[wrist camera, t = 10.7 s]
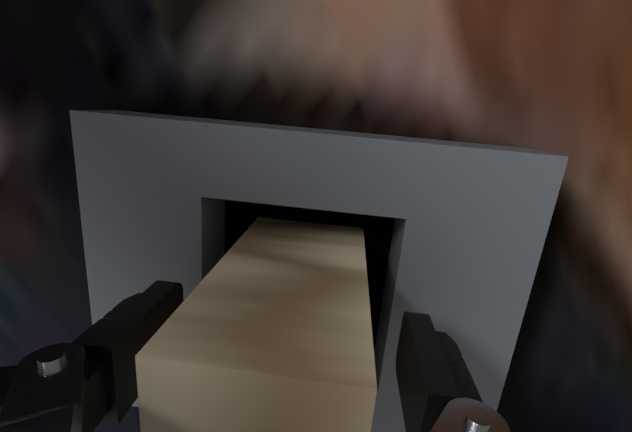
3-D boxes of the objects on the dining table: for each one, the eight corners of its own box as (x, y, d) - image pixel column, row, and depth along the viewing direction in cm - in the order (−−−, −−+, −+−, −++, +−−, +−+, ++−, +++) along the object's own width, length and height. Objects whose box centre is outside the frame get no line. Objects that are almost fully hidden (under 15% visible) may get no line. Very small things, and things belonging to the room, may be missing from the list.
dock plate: (133, 362, 18) (100, 401, 16) (116, 109, 14) (69, 110, 12) (464, 409, 17) (483, 458, 14) (530, 148, 13) (569, 156, 11)
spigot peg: (254, 309, 16) (148, 527, 8) (258, 216, 15) (135, 356, 7) (352, 321, 16) (351, 561, 8) (363, 227, 15) (377, 389, 6)
